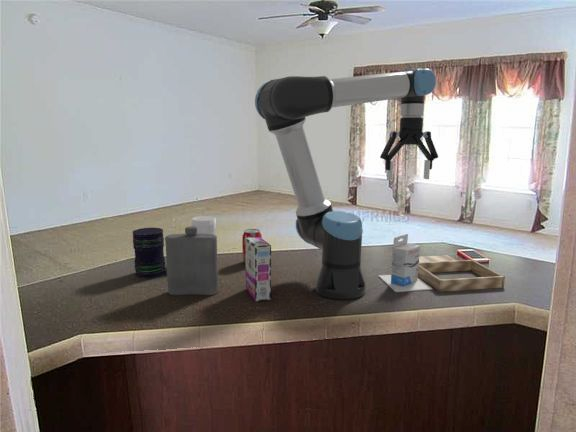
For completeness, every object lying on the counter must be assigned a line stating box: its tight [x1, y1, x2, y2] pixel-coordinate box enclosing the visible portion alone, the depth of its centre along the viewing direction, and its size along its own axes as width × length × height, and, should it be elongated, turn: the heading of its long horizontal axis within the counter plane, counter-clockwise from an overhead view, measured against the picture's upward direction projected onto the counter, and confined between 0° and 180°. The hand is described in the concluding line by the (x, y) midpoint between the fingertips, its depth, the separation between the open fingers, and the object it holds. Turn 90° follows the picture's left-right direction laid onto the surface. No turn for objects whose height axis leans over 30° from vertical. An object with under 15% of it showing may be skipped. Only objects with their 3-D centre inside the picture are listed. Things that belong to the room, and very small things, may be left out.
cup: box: [191, 215, 219, 262], centre depth 162 cm, size 9×9×16 cm
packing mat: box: [378, 274, 434, 293], centre depth 141 cm, size 12×14×1 cm
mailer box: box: [418, 254, 506, 293], centre depth 151 cm, size 22×34×4 cm, turn 10°
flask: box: [164, 225, 219, 296], centre depth 131 cm, size 15×6×20 cm, turn 91°
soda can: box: [241, 228, 263, 264], centre depth 160 cm, size 7×7×12 cm
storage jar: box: [132, 227, 166, 280], centre depth 147 cm, size 10×10×15 cm
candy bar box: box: [245, 237, 272, 302], centre depth 129 cm, size 11×5×16 cm, turn 21°
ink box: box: [390, 233, 421, 286], centre depth 139 cm, size 8×5×15 cm, turn 134°
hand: (408, 179), depth 154 cm, fingers open, 13 cm apart
